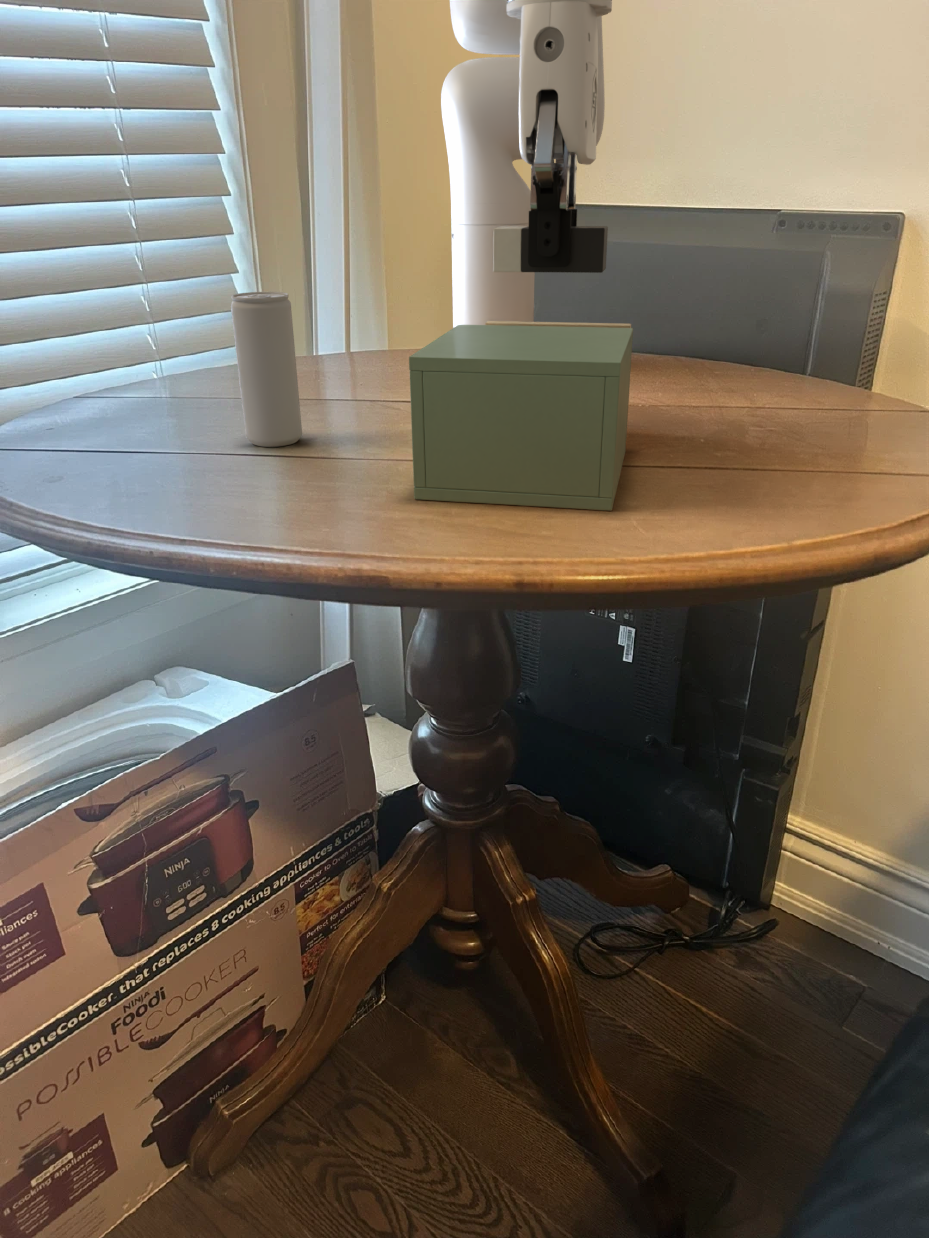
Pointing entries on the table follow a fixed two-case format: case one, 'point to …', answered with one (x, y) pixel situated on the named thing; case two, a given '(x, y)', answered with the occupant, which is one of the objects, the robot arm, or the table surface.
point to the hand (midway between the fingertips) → (552, 262)
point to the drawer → (559, 324)
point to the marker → (584, 258)
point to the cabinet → (521, 415)
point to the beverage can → (267, 367)
